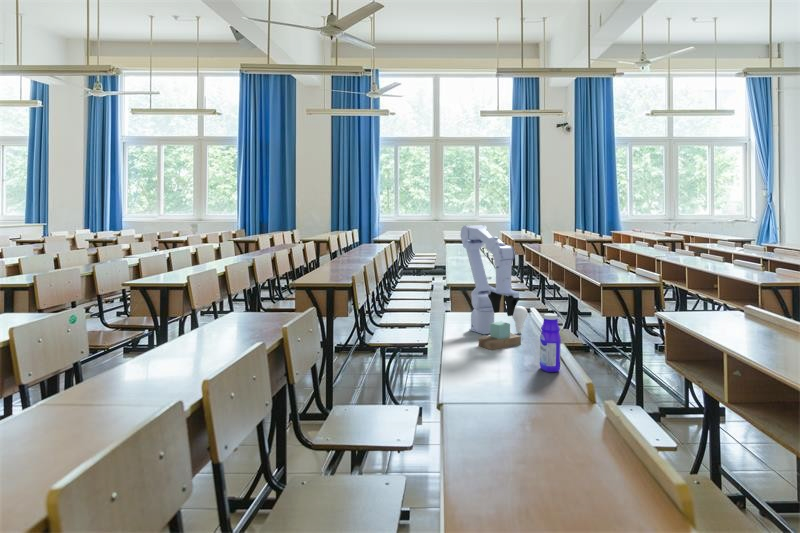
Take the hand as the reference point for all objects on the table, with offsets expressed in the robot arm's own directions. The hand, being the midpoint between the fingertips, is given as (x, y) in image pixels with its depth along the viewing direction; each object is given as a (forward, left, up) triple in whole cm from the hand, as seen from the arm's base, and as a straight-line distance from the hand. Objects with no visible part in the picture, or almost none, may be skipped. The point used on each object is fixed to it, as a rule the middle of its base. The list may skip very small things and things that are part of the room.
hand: (503, 314), depth 207 cm
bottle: (+36, -13, -10) cm, 40 cm away
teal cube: (+5, -6, -7) cm, 10 cm away
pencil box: (+5, -6, -10) cm, 13 cm away
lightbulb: (-4, +12, -10) cm, 16 cm away
